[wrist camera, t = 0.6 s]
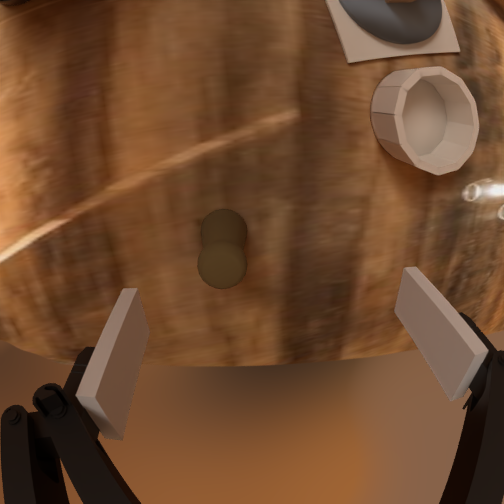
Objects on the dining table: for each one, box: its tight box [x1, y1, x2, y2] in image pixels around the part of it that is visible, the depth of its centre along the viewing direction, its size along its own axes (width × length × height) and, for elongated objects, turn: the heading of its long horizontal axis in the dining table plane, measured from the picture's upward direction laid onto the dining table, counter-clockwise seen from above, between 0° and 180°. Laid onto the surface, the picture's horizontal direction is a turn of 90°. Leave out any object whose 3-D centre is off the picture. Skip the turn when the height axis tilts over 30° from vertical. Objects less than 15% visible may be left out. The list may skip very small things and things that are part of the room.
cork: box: [197, 209, 247, 289], centre depth 37 cm, size 6×6×11 cm
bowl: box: [370, 66, 479, 175], centre depth 33 cm, size 13×13×7 cm
